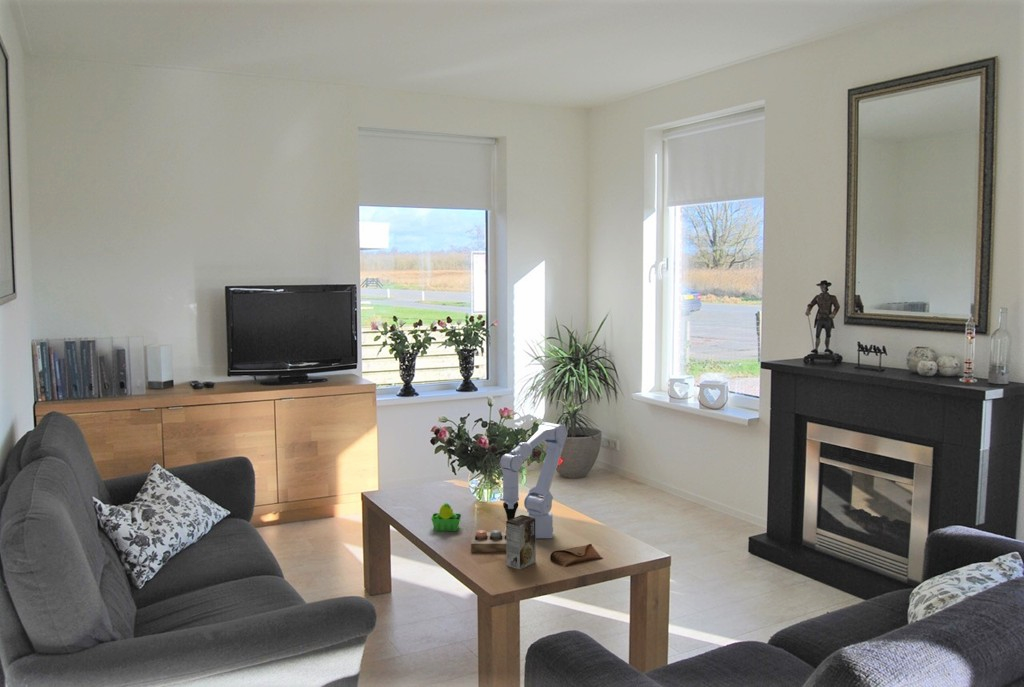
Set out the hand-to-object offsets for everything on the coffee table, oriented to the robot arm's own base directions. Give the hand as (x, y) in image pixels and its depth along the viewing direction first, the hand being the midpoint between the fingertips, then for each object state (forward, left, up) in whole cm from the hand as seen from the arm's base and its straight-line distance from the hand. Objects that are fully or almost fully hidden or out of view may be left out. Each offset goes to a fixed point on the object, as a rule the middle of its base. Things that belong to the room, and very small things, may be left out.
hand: (510, 522), depth 301 cm
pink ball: (+11, 0, -7) cm, 13 cm away
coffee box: (-4, +19, -9) cm, 21 cm away
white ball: (0, 0, -6) cm, 6 cm away
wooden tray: (+5, 0, -9) cm, 10 cm away
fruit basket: (+25, -19, -9) cm, 33 cm away
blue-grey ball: (+6, 0, -7) cm, 9 cm away
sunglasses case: (-24, +14, -10) cm, 29 cm away
